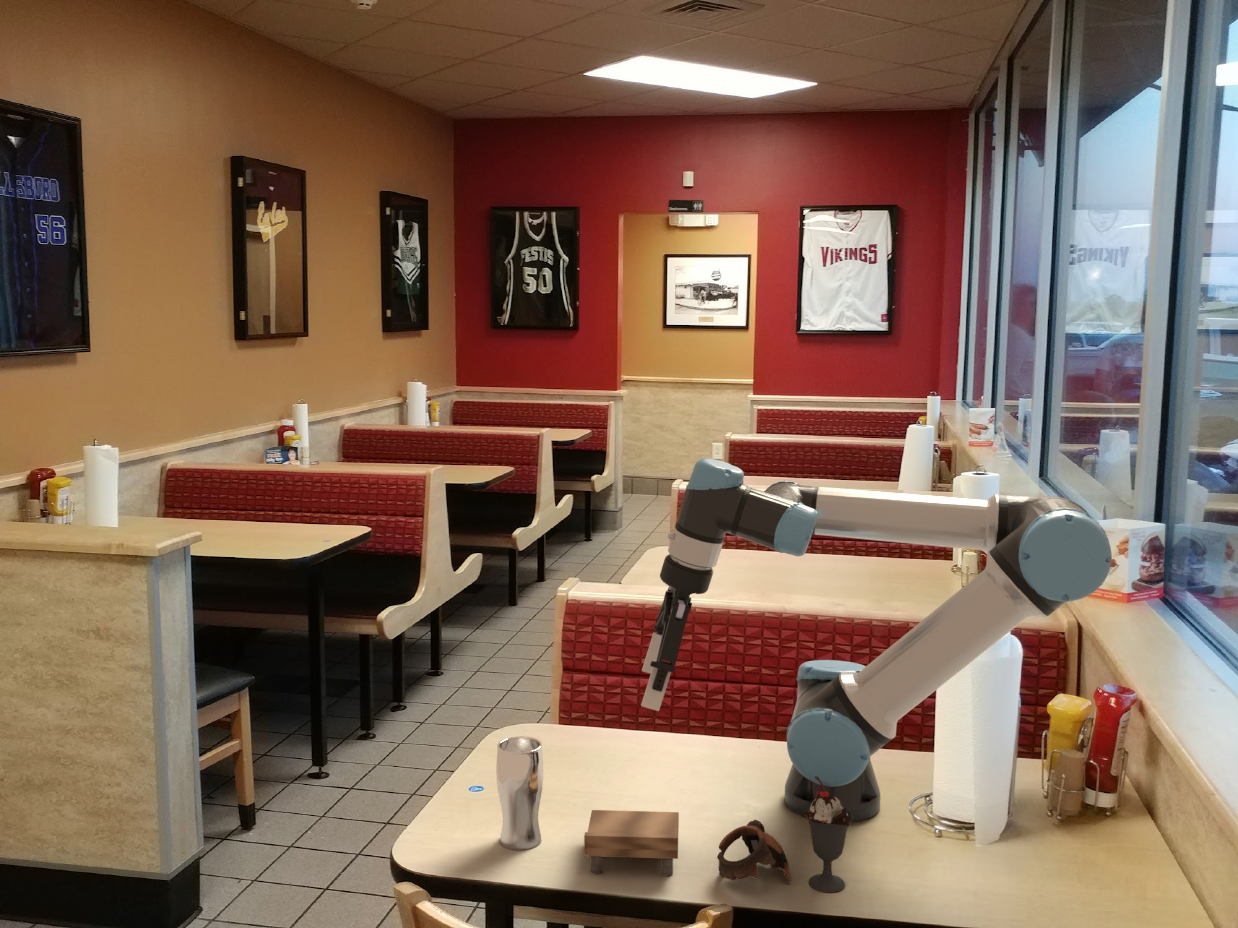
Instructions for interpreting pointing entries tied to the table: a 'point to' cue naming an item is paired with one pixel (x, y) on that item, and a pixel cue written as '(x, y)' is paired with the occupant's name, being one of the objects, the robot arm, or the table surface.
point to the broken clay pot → (752, 853)
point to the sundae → (827, 837)
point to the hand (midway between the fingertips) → (650, 689)
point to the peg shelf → (632, 837)
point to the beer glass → (520, 790)
